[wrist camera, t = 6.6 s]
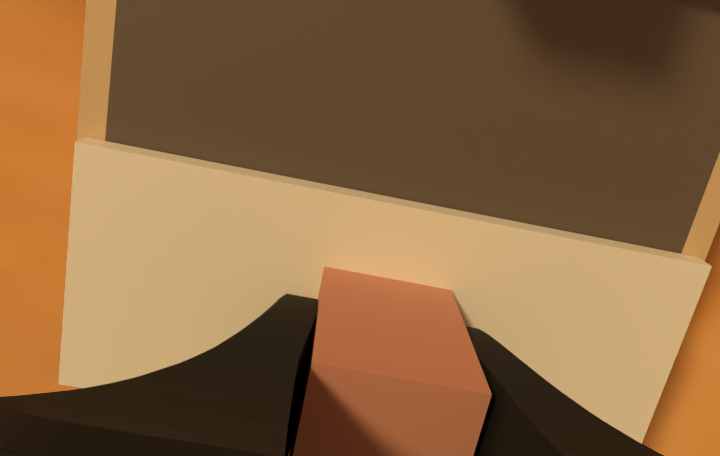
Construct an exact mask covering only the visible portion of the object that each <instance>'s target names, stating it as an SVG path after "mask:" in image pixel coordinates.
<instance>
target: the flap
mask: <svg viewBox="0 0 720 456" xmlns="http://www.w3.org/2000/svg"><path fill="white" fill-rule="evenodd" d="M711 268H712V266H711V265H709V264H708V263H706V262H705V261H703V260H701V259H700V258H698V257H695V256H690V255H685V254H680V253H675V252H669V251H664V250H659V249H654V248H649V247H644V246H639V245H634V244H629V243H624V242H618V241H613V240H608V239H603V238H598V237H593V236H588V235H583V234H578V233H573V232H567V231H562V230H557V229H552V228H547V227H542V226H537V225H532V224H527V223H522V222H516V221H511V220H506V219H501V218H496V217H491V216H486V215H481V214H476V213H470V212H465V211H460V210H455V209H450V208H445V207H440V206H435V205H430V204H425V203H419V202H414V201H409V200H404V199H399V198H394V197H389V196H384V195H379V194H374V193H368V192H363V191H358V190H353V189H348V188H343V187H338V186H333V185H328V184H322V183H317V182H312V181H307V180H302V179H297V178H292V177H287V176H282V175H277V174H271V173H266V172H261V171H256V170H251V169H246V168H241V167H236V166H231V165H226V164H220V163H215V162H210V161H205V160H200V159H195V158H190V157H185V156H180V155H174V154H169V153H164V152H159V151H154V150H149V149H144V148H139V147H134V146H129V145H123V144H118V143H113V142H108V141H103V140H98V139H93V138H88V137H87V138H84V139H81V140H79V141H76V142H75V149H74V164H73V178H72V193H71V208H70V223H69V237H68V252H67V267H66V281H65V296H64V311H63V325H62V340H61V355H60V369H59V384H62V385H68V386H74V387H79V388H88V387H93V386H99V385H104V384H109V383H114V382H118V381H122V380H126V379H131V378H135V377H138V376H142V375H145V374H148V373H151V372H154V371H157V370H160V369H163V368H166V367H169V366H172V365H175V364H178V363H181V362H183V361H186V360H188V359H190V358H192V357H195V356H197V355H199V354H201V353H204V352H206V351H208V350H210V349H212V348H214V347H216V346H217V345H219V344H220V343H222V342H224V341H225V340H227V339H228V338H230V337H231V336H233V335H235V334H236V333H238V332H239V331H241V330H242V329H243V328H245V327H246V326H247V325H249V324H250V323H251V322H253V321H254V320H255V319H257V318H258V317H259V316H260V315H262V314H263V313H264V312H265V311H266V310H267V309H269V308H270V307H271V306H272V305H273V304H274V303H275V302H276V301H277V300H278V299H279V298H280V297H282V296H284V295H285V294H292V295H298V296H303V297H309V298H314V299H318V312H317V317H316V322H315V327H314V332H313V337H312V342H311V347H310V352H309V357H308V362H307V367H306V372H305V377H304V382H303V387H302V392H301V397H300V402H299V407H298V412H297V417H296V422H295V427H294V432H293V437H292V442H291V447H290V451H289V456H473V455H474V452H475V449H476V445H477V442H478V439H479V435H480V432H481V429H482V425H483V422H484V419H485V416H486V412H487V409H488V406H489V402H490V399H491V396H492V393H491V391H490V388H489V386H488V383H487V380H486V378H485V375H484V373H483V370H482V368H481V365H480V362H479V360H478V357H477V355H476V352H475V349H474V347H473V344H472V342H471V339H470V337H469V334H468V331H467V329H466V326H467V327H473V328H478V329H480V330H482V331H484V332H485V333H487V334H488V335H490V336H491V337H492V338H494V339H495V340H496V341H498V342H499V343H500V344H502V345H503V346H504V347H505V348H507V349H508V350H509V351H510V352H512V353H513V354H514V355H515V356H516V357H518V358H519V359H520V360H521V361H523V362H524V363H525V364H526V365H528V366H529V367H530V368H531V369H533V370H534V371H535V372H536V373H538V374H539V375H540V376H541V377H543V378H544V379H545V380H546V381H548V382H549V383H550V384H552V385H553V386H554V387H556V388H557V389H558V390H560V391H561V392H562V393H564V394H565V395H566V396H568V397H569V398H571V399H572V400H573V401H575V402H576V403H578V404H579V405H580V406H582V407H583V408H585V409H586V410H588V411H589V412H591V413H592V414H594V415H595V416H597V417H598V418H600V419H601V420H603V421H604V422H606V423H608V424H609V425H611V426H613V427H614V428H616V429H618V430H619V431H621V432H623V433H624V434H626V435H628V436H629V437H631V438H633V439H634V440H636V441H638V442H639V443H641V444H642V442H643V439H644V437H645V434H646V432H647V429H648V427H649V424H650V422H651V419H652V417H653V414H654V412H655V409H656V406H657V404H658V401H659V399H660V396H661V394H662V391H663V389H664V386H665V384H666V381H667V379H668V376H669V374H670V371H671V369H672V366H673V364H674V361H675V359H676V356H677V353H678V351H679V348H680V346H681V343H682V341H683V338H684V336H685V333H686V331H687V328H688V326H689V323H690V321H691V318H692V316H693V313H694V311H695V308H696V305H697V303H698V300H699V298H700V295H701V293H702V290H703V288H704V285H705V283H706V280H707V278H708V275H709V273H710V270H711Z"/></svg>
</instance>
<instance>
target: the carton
mask: <svg viewBox="0 0 720 456" xmlns="http://www.w3.org/2000/svg"><path fill="white" fill-rule="evenodd" d="M87 137H88V138H93V139H98V140H103V141H108V142H113V143H118V144H123V145H129V146H134V147H139V148H144V149H149V150H154V151H159V152H164V153H169V154H174V155H180V156H185V157H190V158H195V159H200V160H205V161H210V162H215V163H220V164H226V165H231V166H236V167H241V168H246V169H251V170H256V171H261V172H266V173H271V174H277V175H282V176H287V177H292V178H297V179H302V180H307V181H312V182H317V183H322V184H328V185H333V186H338V187H343V188H348V189H353V190H358V191H363V192H368V193H374V194H379V195H384V196H389V197H394V198H399V199H404V200H409V201H414V202H419V203H425V204H430V205H435V206H440V207H445V208H450V209H455V210H460V211H465V212H470V213H476V214H481V215H486V216H491V217H496V218H501V219H506V220H511V221H516V222H522V223H527V224H532V225H537V226H542V227H547V228H552V229H557V230H562V231H567V232H573V233H578V234H583V235H588V236H593V237H598V238H603V239H608V240H613V241H618V242H624V243H629V244H634V245H639V246H644V247H649V248H654V249H659V250H664V251H669V252H675V253H680V254H685V255H690V256H695V257H698V258H700V259H701V260H703V261H705V259H706V257H707V254H708V251H709V249H710V246H711V244H712V241H713V239H714V236H715V234H716V231H717V228H718V226H719V223H720V0H86V11H85V25H84V40H83V55H82V69H81V84H80V98H79V113H78V127H77V141H79V140H81V139H84V138H87Z"/></svg>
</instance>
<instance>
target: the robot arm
mask: <svg viewBox="0 0 720 456" xmlns="http://www.w3.org/2000/svg"><path fill="white" fill-rule="evenodd" d="M317 312H318V299H314V298H309V297H303V296H298V295H292V294H285V295H284V296H282V297H280V298H279V299H278V300H277V301H276V302H275V303H274V304H273V305H272V306H271V307H270V308H269V309H267V310H266V311H265V312H264V313H263V314H262V315H260V316H259V317H258V318H257V319H255V320H254V321H253V322H251V323H250V324H249V325H247V326H246V327H245V328H243V329H242V330H241V331H239V332H238V333H236V334H235V335H233V336H231V337H230V338H228V339H227V340H225V341H224V342H222V343H220V344H219V345H217V346H216V347H214V348H212V349H210V350H208V351H206V352H204V353H201V354H199V355H197V356H195V357H192V358H190V359H188V360H186V361H183V362H181V363H178V364H175V365H172V366H169V367H166V368H163V369H160V370H157V371H154V372H151V373H148V374H145V375H142V376H138V377H135V378H131V379H126V380H122V381H118V382H114V383H109V384H104V385H99V386H93V387H88V388H82V389H76V390H69V391H60V392H50V393H40V394H31V395H21V396H8V397H0V456H288V455H289V451H290V447H291V442H292V437H293V432H294V427H295V422H296V417H297V412H298V407H299V402H300V397H301V392H302V387H303V382H304V377H305V372H306V367H307V362H308V357H309V352H310V347H311V342H312V337H313V332H314V327H315V322H316V317H317ZM466 329H467V331H468V334H469V337H470V339H471V342H472V344H473V347H474V349H475V352H476V355H477V357H478V360H479V362H480V365H481V368H482V370H483V373H484V375H485V378H486V380H487V383H488V386H489V388H490V391H491V393H492V396H491V399H490V402H489V406H488V409H487V412H486V416H485V419H484V422H483V425H482V429H481V432H480V435H479V439H478V442H477V445H476V449H475V452H474V455H473V456H663V455H661V454H659V453H658V452H656V451H654V450H652V449H650V448H648V447H647V446H645V445H643V444H641V443H639V442H638V441H636V440H634V439H633V438H631V437H629V436H628V435H626V434H624V433H623V432H621V431H619V430H618V429H616V428H614V427H613V426H611V425H609V424H608V423H606V422H604V421H603V420H601V419H600V418H598V417H597V416H595V415H594V414H592V413H591V412H589V411H588V410H586V409H585V408H583V407H582V406H580V405H579V404H578V403H576V402H575V401H573V400H572V399H571V398H569V397H568V396H566V395H565V394H564V393H562V392H561V391H560V390H558V389H557V388H556V387H554V386H553V385H552V384H550V383H549V382H548V381H546V380H545V379H544V378H543V377H541V376H540V375H539V374H538V373H536V372H535V371H534V370H533V369H531V368H530V367H529V366H528V365H526V364H525V363H524V362H523V361H521V360H520V359H519V358H518V357H516V356H515V355H514V354H513V353H512V352H510V351H509V350H508V349H507V348H505V347H504V346H503V345H502V344H500V343H499V342H498V341H496V340H495V339H494V338H492V337H491V336H490V335H488V334H487V333H485V332H484V331H482V330H480V329H478V328H473V327H467V326H466Z"/></svg>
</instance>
